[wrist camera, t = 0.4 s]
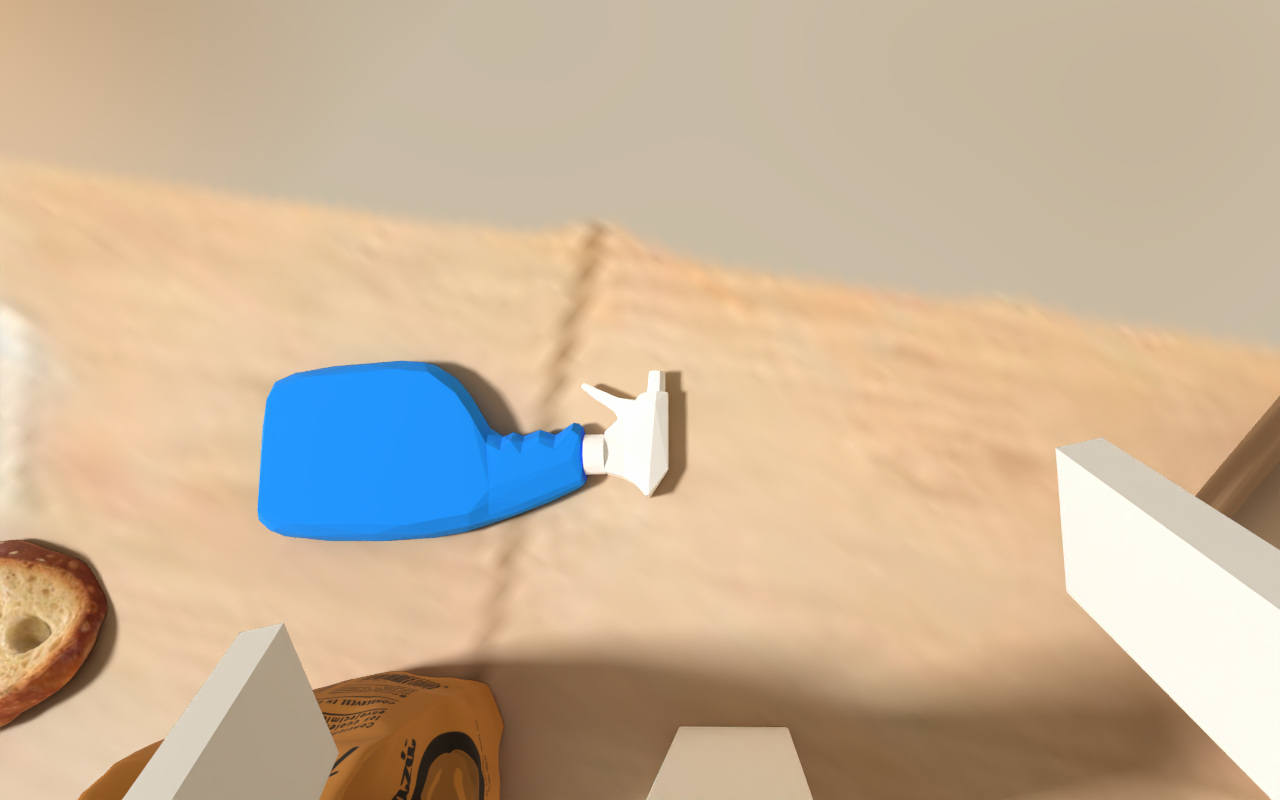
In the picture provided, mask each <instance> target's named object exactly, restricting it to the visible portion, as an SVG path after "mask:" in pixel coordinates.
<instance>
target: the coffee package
mask: <svg viewBox="0 0 1280 800" xmlns="http://www.w3.org/2000/svg"><path fill="white" fill-rule="evenodd" d="M312 691H313V693H314V695H315V698H316V700H317V702H318V705H319V707H320V709H321V712H322V714H323V716H324V719H325V721H326V724H327V726H328V728H329V731H330V733H331V735H332V738H333V740H334V742H335V745H336V747H337V749H338V752H339V753H338V756H337V758H336V760H335V763H334V765H333V768H332V770H331V772H330V775H329V777H328V780H327V782H326V784H325V787H324V789H323V792H322V794H321V796H320V799H319V800H500V776H499V746H500V741H501V737H502V733H503V730H504V724H503V720H502V717H501V715H500V713H499V710H498V708H497V705H496V702H495V699H494V697H493V695H492V693H491V690H490V688H489V686H488V685H487V684H485V683H482V682H479V681H473V680H463V679H458V678H451V677H448V678H436V677H427V676H418V675H413V674H411V673H408V672H406V671H395V672H385V673H380V674H375V675H370V676H365V677H361V678H356V679H351V680H347V681H344V682H340V683H337V684H333V685H330V686H326V687H322V688H318V689H315V690H312ZM164 740H165V739H163V740H161V741H158V742H156V743H153V744H151V745H149V746H147V747H145V748H143V749H141V750H139V751H137V752H135V753H133V754H131V755H130V756H128V757H126V758H124V759H122V760H120V761H119V762H117V763H115V764H114V765H113V766H112V767H111V768H110V769H109V770H108V771H107V772H106V773H105V774H104V775H103V776H102V777H101V778H99V779H98V780H97V781H96V782H95V783H94V784H93V785H92V786H90V787H89V788H88V789H87V790H86V791H84V792H83V793H82V794H81V796H80V797H79V799H78V800H122V799H123V798H124V796H125V795H126V793H127V792H128V791H129V789H130V788H131V786H132V785H133V784H134V782H135V781H136V779H137V778H138V776H139V775H140V774H141V772H142V771H143V769H144V768H145V767H146V765H147V764H148V762H149V761H150V759H151V758H152V757H153V755H154V754H155V752H156V751H157V750H158V748H159V747H160V745H161V744H162V742H163V741H164Z"/></svg>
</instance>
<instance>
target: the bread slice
mask: <svg viewBox="0 0 1280 800" xmlns="http://www.w3.org/2000/svg"><path fill="white" fill-rule="evenodd" d="M107 610H108V605H107V599H106V596H105V594H104V592H103V590H102V589H101V587H100V585H99V583H98V581H97V580H96V578H95V576H94V574H93V573H92V571H91V570H90V568H89V567H88V566H87V564H86V563H84V562H83V561H82V560H80V559H77V558H73V557H70V556H68V555H64V554H62V553H59V552H55V551H52V550H49V549H46V548H43V547H40V546H38V545H36V544H32V543H29V542H26V541H22V540H8V541H2V542H0V727H2V726H4V725H6V724H8V723H10V722H11V721H13V720H14V719H15V718H16V717H17V716H18V715H19V714H21V713H22V712H24V711H26V710H27V709H29V708H31V707H33V706H35V705H37V704H38V703H40V702H42V701H43V700H45V699H46V698H48V697H49V696H51V695H52V694H54V693H55V692H57V691H58V690H59V689H61V688H62V687H63V686H64V685H65V684H67V683H68V682H69V681H70V680H71V678H72V677H73V676H74V675H75V673H76V672H77V671H78V670H79V668H80V667H81V665H82V664H83V663H84V661H85V659H86V658H87V656H88V655H89V653H90V651H91V650H92V648H93V646H94V644H95V642H96V639H97V636H98V632H99V629H100V626H101V624H102V622H103V620H104V618H105V617H106V615H107Z"/></svg>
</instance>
